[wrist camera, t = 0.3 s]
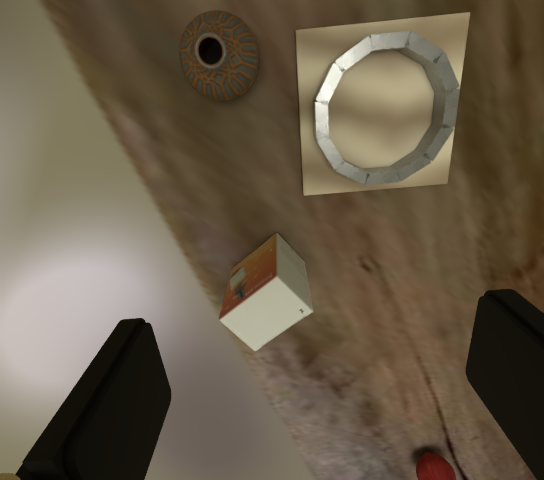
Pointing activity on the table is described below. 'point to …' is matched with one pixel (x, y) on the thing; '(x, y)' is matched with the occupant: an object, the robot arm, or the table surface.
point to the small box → (266, 293)
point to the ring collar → (442, 111)
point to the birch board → (373, 101)
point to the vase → (219, 55)
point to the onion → (434, 468)
